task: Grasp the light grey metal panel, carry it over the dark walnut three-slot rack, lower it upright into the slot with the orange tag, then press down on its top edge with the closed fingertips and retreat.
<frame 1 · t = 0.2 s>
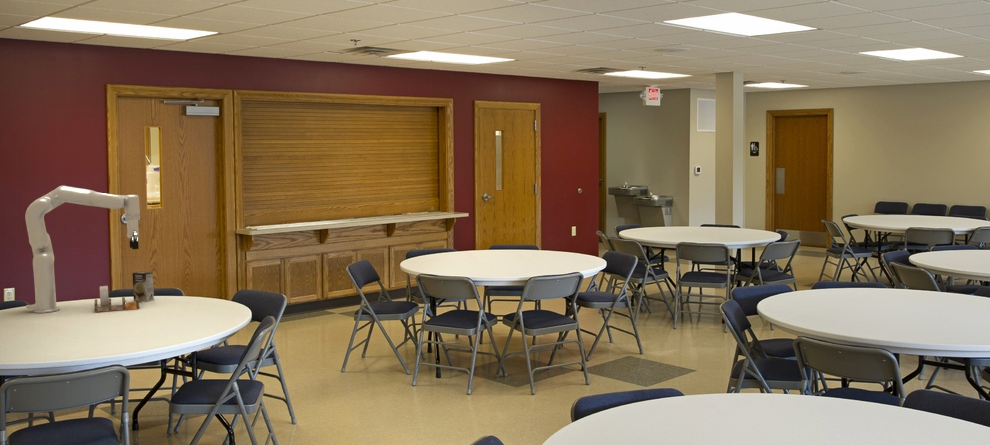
hand: (134, 248, 459), 31 cm above the table, fingers open, 9 cm apart
rack: (117, 308, 446), on the table
panel: (104, 305, 457), on the table
coffee box: (143, 301, 470), on the table
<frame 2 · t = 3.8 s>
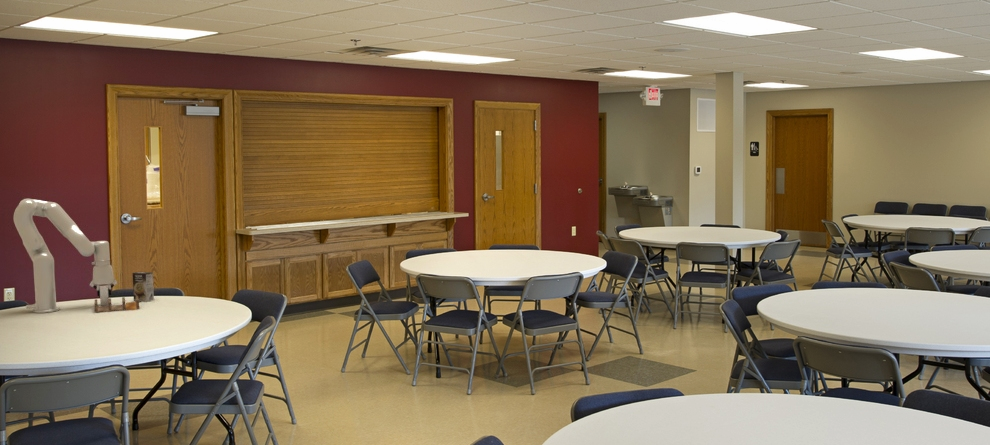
hand: (104, 296, 457), 5 cm above the table, fingers closed on panel, 4 cm apart
panel: (104, 305, 457), on the table, touching gripper
everything else where it was.
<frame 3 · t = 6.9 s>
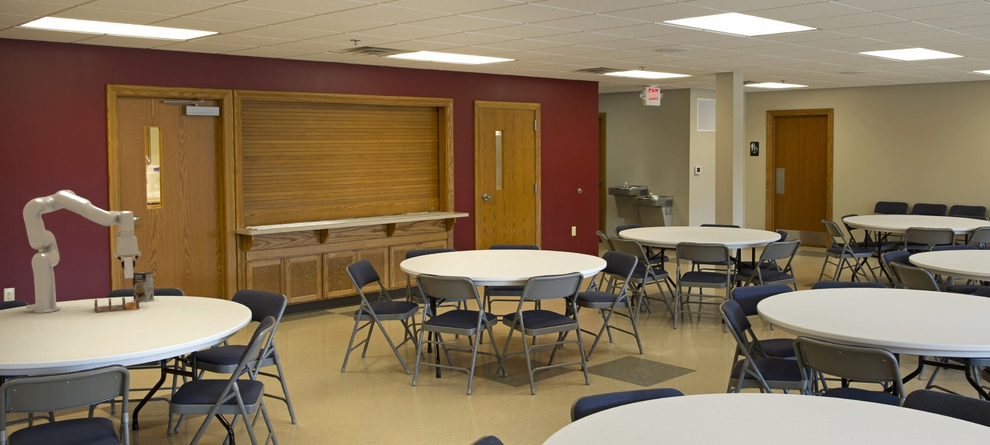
hand: (128, 267, 447), 21 cm above the table, fingers closed on panel, 4 cm apart
panel: (129, 276, 447), point 17 cm above the table, touching gripper
everything else where it was.
when the fingers open (7 cm above the table, at t = 10.4 s): panel drops 1 cm, resting on rack.
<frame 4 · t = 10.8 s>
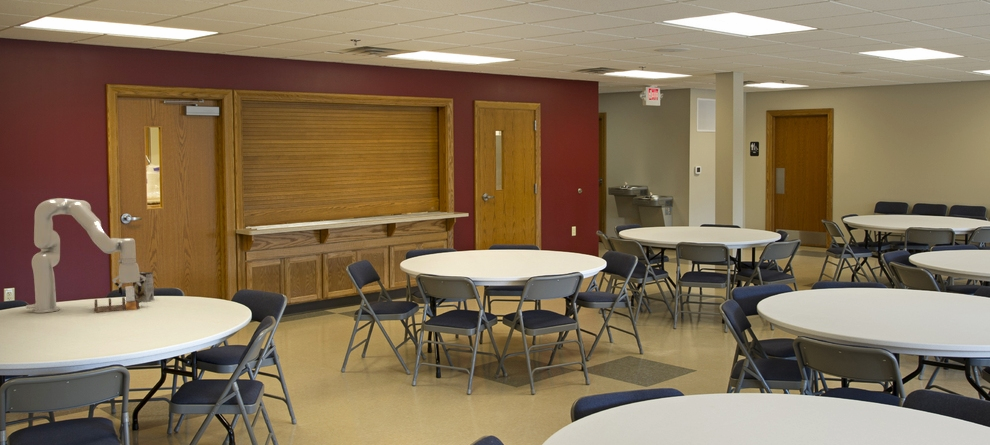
hand: (130, 293, 448), 8 cm above the table, fingers open, 8 cm apart
panel: (130, 306, 448), point 1 cm above the table, touching rack
everything else where it was.
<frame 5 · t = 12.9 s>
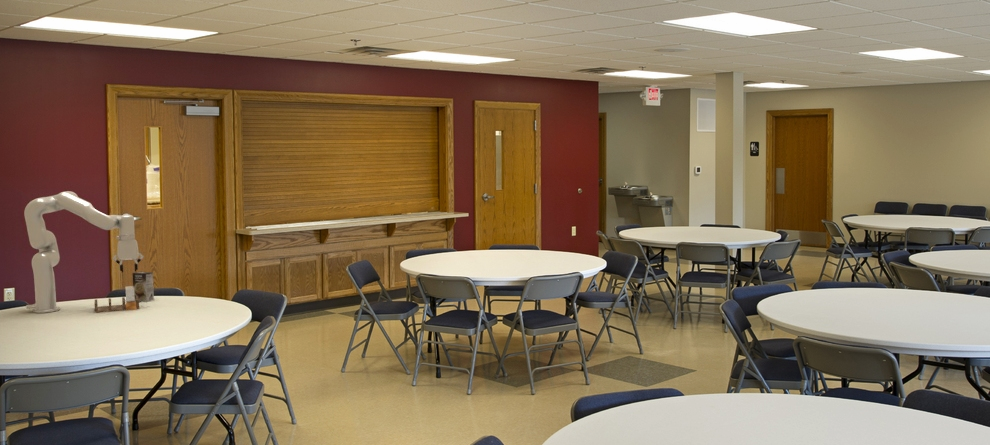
hand: (129, 271, 447), 20 cm above the table, fingers open, 5 cm apart
nothing on the table moved.
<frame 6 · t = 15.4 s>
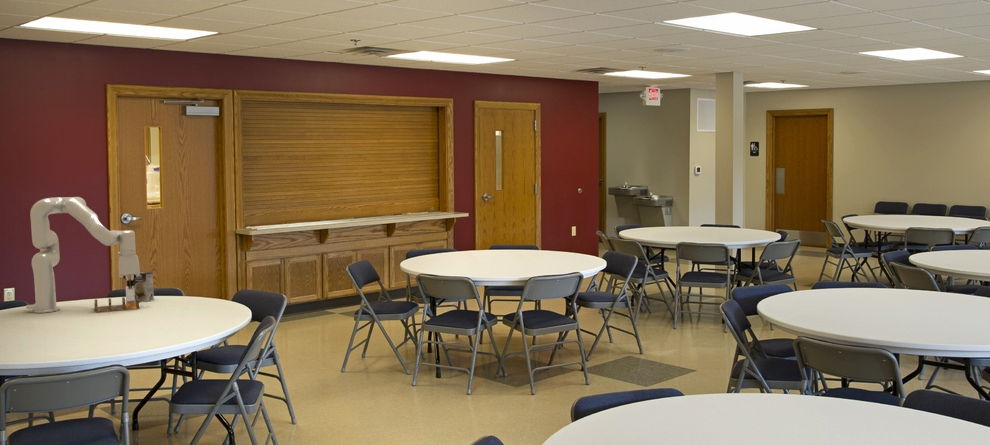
hand: (130, 287, 448), 11 cm above the table, fingers closed
panel: (130, 306, 448), point 1 cm above the table, touching gripper, rack
everything else where it was.
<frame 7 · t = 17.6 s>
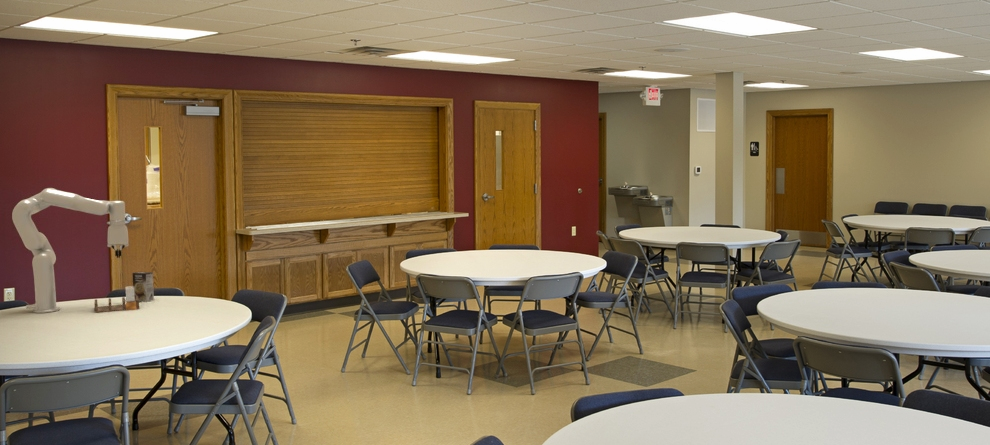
hand: (118, 257, 453), 26 cm above the table, fingers closed
panel: (130, 306, 448), point 1 cm above the table, touching rack
everything else where it was.
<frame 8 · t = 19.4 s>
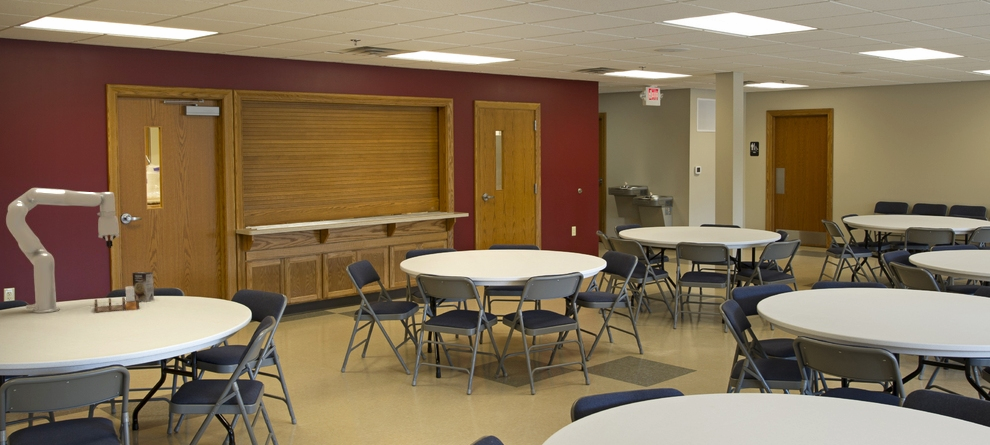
hand: (109, 247, 459), 31 cm above the table, fingers closed
nothing on the table moved.
at the end: panel 0.1 cm from the target spot on the rack, point 0.8 cm above the rack's base; panel tilted 0°; the gripper is holding nothing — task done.
